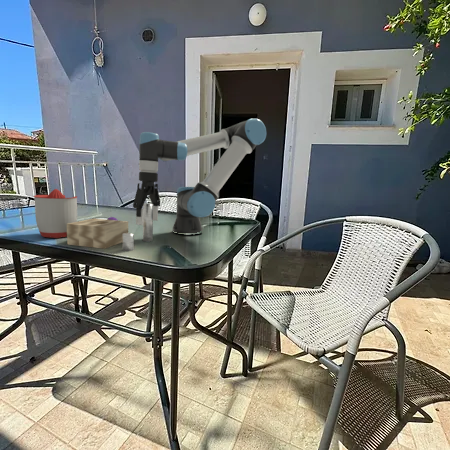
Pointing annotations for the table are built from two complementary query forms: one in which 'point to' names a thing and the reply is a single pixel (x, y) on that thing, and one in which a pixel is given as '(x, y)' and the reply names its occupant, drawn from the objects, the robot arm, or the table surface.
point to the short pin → (128, 241)
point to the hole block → (96, 232)
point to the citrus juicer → (55, 213)
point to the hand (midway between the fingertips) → (147, 222)
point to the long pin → (148, 222)
